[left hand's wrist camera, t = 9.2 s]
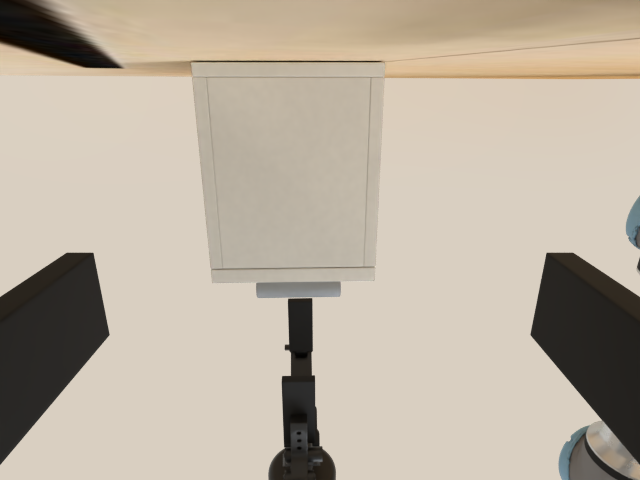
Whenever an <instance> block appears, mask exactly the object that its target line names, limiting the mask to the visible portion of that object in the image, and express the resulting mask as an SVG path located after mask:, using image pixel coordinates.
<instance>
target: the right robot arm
mask: <svg viewBox="0 0 640 480" xmlns="http://www.w3.org/2000/svg"><path fill="white" fill-rule="evenodd" d="M626 234H627V235H628V236H629V241H630V242H631V243H632V244H633V245H634V246H636V247H637V248H638V249H640V196H639V197H638V199H637V200H636V202H635V203H634V205H633V207H632V209H631V211H630V213H629V215H628V218H627V222H626ZM637 272H638V273H639V274H640V259H639V262H638V266H637ZM288 317H289V345H285V350H289V351H290V352H291V376H282V401H283V426H284V447H286V448H285V449H283V450H282V451H280V452H279V453H278V454H277V455H276V456H275V457H274V459H273V460H272V462H271V465H270V467H269V475H268V476H269V480H336V469H335V465H334V462H333V460H332V458H331V457H330V455H329V454H328V453H327V452H326V451H324V450H323V449H322V446H319V431H318V430H317V409H316V407H315V376H312V363H311V362H312V361H311V352H312V351H313V331H312V298H302V299H288ZM559 472H560V476H561V478H562V480H640V464H639V463H638V462H637V461H636V460H635V459H634V457H633V456H632V455H631V454H630V453H629V451H628V450H627V449H626V448H625V447H624V445H623V444H622V443H621V442H620V441H619V440H618V438H617V437H616V436H615V435H614V434H613V432H612V431H611V430H610V429H609V428H608V426H607V425H606V424H605V423H604V422H603V421H598V422H595V423H593V424H591V425H589V426H586V427H583V428H581V429H579V430H578V431H576V432H575V433H574V434H573V435H571V440H570V441H569V442H566V443H565V444H564V446H563V448H562V451H561V453H560V457H559Z"/></svg>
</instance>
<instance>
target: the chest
mask: <svg viewBox="0 0 640 480" xmlns="http://www.w3.org/2000/svg"><path fill="white" fill-rule="evenodd" d="M191 70H192V76H193V77H192V81H193V91H194V101H195V112H196V122H197V132H198V143H199V153H200V163H201V174H202V184H203V194H204V204H205V215H206V225H207V235H208V246H209V255H210V266H211V269H222V268H296V267H363V266H364V267H369V266H375V262H376V241H377V221H378V200H379V179H380V158H381V138H382V118H383V97H384V76H385V63H384V62H191Z"/></svg>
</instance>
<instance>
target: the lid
mask: <svg viewBox="0 0 640 480" xmlns="http://www.w3.org/2000/svg"><path fill="white" fill-rule="evenodd" d="M211 276H212V283H256V293H257V297H258V298H282V297H339V296H340V293H341V283H340V281H374V280H375V266H369V267H364V266H363V267H296V268H222V269H211Z"/></svg>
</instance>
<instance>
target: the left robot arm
mask: <svg viewBox="0 0 640 480" xmlns="http://www.w3.org/2000/svg"><path fill="white" fill-rule="evenodd" d="M108 336H109V330H108V325H107V320H106V315H105V310H104V305H103V300H102V294H101V289H100V284H99V279H98V274H97V269H96V264H95V259H94V254H93V253H66V254H64V255H63V256H61V257H60V258H58V259H57V260H55V261H54V262H52V263H51V264H49V265H48V266H46V267H45V268H43V269H42V270H40V271H39V272H37V273H36V274H34V275H33V276H31V277H30V278H28V279H27V280H25V281H24V282H22V283H21V284H19V285H18V286H16V287H15V288H13V289H12V290H10V291H9V292H7V293H6V294H4V295H2V296H1V297H0V464H1V463H2V462H3V461H4V460H5V459H6V457H7V456H8V455H9V454H10V452H11V451H12V450H13V449H14V448H15V447H16V445H17V444H18V443H19V442H20V441H21V440H22V438H23V437H24V436H25V435H26V434H27V432H28V431H29V430H30V429H31V428H32V426H33V425H34V424H35V423H36V422H37V421H38V419H39V418H40V417H41V416H42V415H43V413H44V412H45V411H46V410H47V409H48V407H49V406H50V405H51V404H52V403H53V402H54V400H55V399H56V398H57V397H58V396H59V394H60V393H61V392H62V391H63V390H64V388H65V387H66V386H67V385H68V384H69V383H70V381H71V380H72V379H73V378H74V377H75V375H76V374H77V373H78V372H79V371H80V369H81V368H82V367H83V366H84V365H85V363H86V362H87V361H88V360H89V359H90V358H91V356H92V355H93V354H94V353H95V352H96V350H97V349H98V348H99V347H100V346H101V344H102V343H103V342H104V341H105V340H106V339H107V337H108ZM531 336H532V337H533V339H534V340H535V341H536V342H537V343H538V344H539V346H540V347H541V348H542V349H543V350H544V352H545V353H546V354H547V355H548V356H549V357H550V359H551V360H552V361H553V362H554V363H555V365H556V366H557V367H558V368H559V369H560V371H561V372H562V373H563V374H564V375H565V377H566V378H567V379H568V380H569V381H570V382H571V384H572V385H573V386H574V387H575V388H576V390H577V391H578V392H579V393H580V394H581V396H582V397H583V398H584V399H585V400H586V401H587V403H588V404H589V405H590V406H591V407H592V409H593V410H594V411H595V412H596V413H597V415H598V416H599V417H600V418H601V419H602V421H603V422H604V423H605V424H606V425H607V426H608V428H609V429H610V430H611V431H612V432H613V434H614V435H615V436H616V437H617V438H618V440H619V441H620V442H621V443H622V444H623V445H624V447H625V448H626V449H627V450H628V451H629V453H630V454H631V455H632V456H633V457H634V459H635V460H636V461H637V462H638V463H639V464H640V297H639V296H637V295H636V294H634V293H633V292H631V291H630V290H628V289H627V288H625V287H624V286H622V285H621V284H619V283H618V282H616V281H615V280H613V279H612V278H610V277H609V276H607V275H606V274H604V273H603V272H601V271H600V270H598V269H597V268H595V267H594V266H592V265H591V264H589V263H588V262H586V261H585V260H583V259H582V258H580V257H579V256H577V255H576V254H574V253H547V254H546V259H545V264H544V269H543V274H542V279H541V284H540V289H539V294H538V299H537V305H536V309H535V315H534V320H533V325H532V330H531Z"/></svg>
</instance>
